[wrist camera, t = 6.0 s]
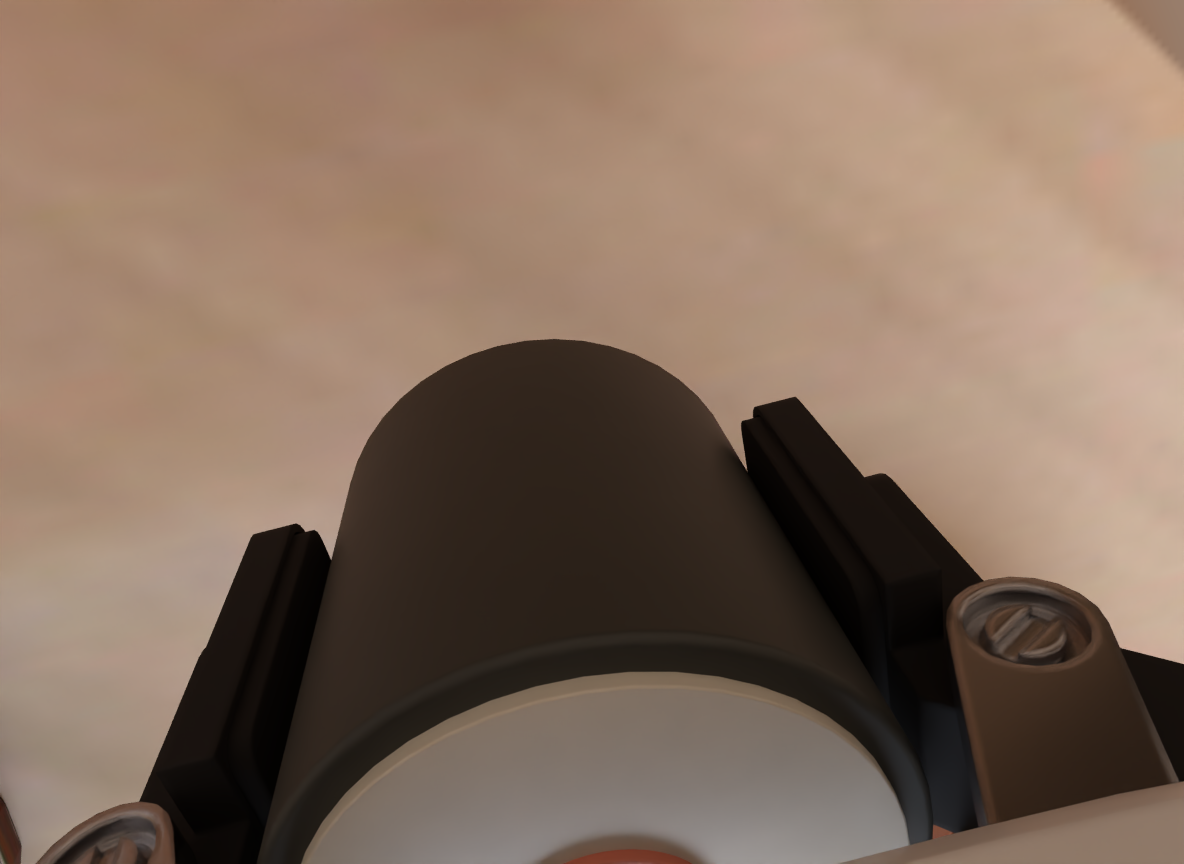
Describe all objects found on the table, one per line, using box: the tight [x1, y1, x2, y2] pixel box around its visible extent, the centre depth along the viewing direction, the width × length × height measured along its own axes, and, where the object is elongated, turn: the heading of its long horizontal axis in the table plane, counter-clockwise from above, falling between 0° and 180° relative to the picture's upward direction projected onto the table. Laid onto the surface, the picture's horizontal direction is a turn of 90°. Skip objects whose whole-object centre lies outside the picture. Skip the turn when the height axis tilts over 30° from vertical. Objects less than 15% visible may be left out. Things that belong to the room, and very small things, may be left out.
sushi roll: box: [257, 339, 933, 864], centre depth 10 cm, size 6×6×6 cm
